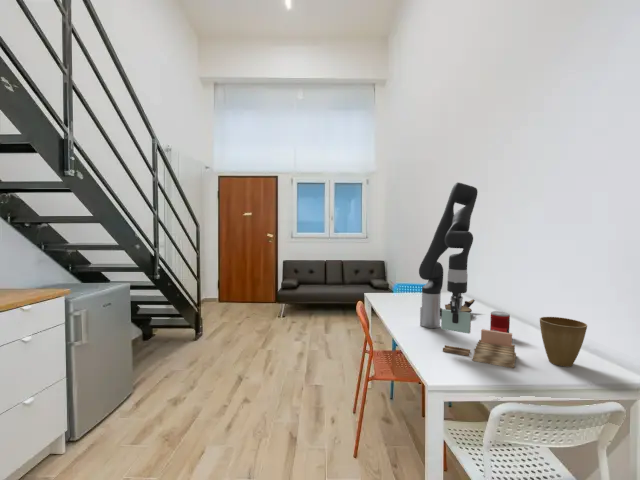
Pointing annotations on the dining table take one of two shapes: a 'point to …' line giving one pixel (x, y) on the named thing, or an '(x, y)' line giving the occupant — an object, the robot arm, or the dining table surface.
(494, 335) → the pink rectangular slab
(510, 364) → the rack
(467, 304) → the oil lamp
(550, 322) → the plant pot
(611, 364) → the dining table surface
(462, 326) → the green plate
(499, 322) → the canned food
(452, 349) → the stand rails
